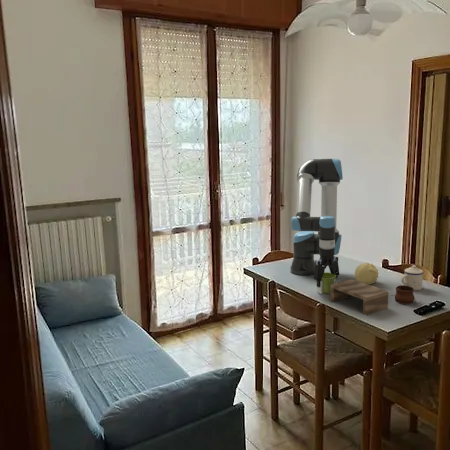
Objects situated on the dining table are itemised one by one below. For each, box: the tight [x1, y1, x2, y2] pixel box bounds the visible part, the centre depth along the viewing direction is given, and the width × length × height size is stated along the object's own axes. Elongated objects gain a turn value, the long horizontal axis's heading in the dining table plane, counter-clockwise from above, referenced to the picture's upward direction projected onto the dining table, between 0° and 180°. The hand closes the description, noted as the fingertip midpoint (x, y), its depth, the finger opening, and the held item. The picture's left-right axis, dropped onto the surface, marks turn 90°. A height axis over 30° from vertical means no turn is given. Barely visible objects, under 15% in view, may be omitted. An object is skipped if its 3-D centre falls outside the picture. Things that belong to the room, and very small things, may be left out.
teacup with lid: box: [401, 264, 424, 291], centre depth 229 cm, size 12×9×12 cm
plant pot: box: [321, 272, 336, 295], centre depth 228 cm, size 9×9×9 cm
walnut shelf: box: [329, 278, 390, 316], centre depth 210 cm, size 22×14×8 cm, turn 32°
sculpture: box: [354, 262, 380, 285], centre depth 239 cm, size 12×12×11 cm
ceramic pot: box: [389, 284, 415, 305], centre depth 212 cm, size 18×18×7 cm
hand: (326, 291), depth 228 cm, fingers closed on plant pot, 8 cm apart
